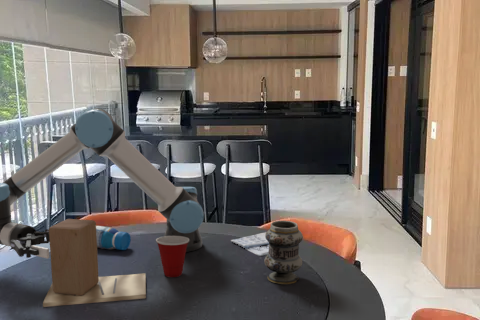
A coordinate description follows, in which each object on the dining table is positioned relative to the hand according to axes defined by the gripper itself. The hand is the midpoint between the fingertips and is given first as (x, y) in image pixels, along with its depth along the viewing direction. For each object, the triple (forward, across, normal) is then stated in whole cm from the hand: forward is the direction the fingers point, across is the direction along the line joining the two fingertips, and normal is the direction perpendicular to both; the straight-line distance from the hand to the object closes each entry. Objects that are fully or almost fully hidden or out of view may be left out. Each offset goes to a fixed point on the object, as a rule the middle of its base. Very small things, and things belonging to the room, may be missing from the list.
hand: (67, 246), depth 141 cm
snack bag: (+33, -66, -14) cm, 75 cm away
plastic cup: (+19, -26, -14) cm, 35 cm away
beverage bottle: (-30, -34, -10) cm, 46 cm away
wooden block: (+3, 0, -13) cm, 13 cm away
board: (+7, -4, -14) cm, 16 cm away
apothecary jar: (+53, -39, -14) cm, 67 cm away
